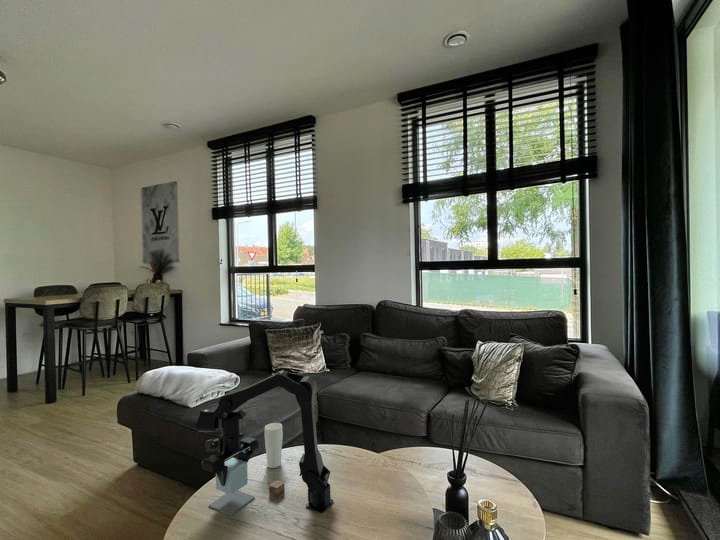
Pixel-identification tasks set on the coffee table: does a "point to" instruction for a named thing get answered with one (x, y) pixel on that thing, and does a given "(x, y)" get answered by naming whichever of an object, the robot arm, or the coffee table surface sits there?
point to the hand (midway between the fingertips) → (232, 480)
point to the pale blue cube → (234, 476)
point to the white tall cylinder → (273, 444)
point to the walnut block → (276, 489)
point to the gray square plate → (231, 502)
